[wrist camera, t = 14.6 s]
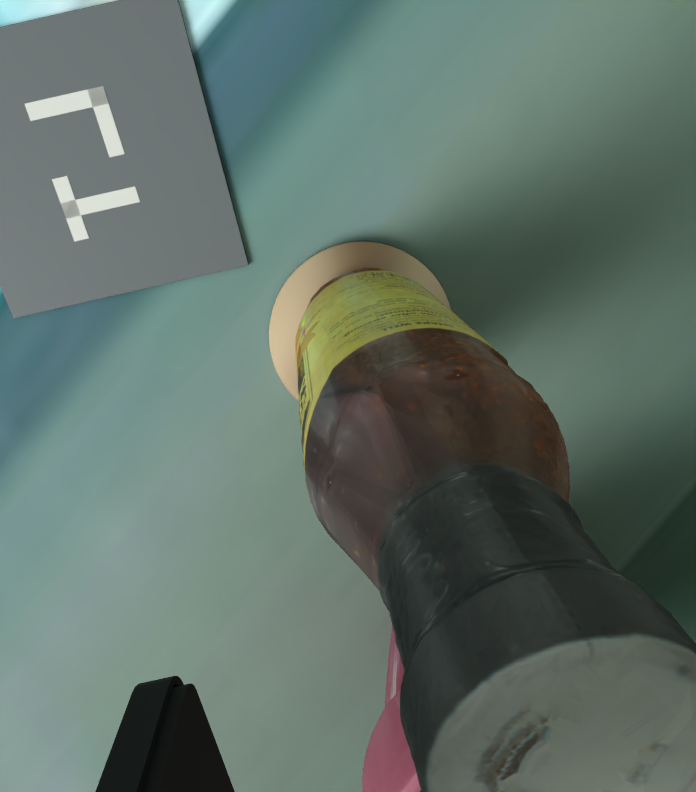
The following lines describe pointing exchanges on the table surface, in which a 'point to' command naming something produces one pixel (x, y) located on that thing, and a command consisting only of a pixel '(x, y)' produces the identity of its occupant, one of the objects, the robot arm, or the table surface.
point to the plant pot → (390, 740)
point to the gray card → (106, 158)
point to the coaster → (319, 273)
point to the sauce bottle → (483, 557)
